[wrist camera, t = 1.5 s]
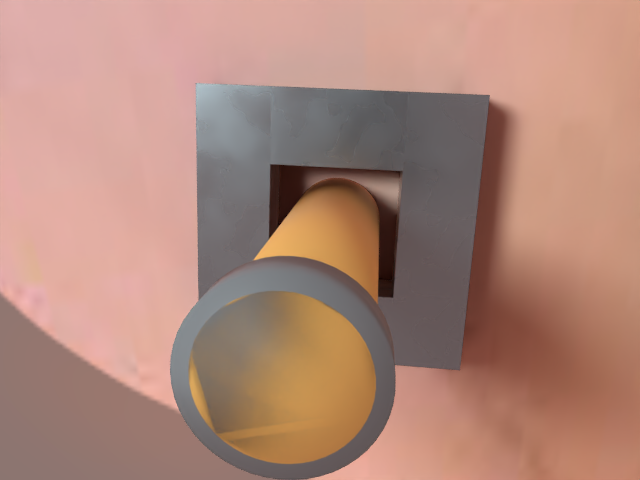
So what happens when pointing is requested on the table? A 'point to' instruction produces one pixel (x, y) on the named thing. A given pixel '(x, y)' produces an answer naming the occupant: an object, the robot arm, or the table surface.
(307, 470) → the pin
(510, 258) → the table surface
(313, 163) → the mount
